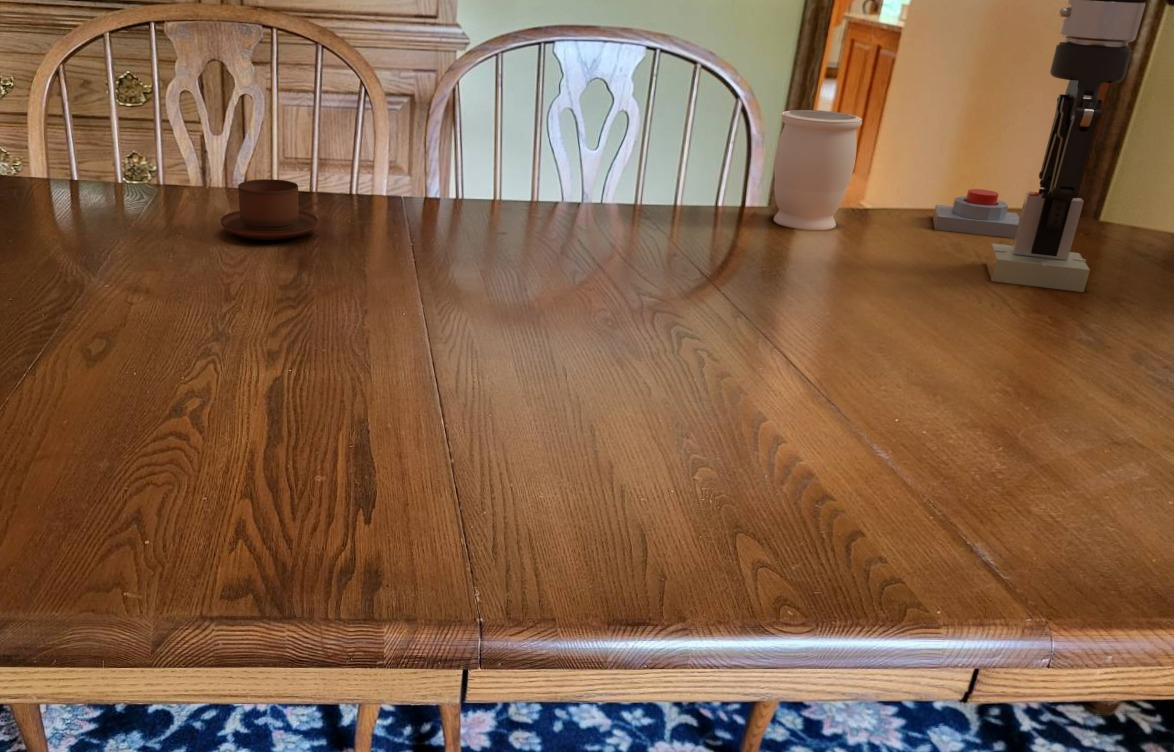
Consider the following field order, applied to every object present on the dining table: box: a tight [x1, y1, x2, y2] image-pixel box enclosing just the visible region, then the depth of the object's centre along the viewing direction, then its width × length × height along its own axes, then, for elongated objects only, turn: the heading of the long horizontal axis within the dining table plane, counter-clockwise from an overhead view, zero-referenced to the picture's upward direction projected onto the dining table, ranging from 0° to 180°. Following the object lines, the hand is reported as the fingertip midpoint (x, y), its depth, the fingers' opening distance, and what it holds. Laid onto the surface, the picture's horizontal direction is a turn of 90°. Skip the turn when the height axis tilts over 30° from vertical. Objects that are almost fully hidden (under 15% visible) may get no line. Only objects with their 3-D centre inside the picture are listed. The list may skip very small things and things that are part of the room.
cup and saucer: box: [220, 178, 319, 241], centre depth 137 cm, size 12×12×6 cm
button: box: [966, 188, 1000, 206], centre depth 154 cm, size 4×4×2 cm
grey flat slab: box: [1012, 191, 1085, 260], centre depth 131 cm, size 6×2×7 cm, turn 72°
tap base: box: [986, 243, 1091, 293], centre depth 133 cm, size 10×10×3 cm
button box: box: [932, 195, 1020, 239], centre depth 155 cm, size 11×8×4 cm
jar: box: [773, 109, 863, 231], centre depth 152 cm, size 11×10×15 cm
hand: (1040, 248), depth 132 cm, fingers open, 4 cm apart
